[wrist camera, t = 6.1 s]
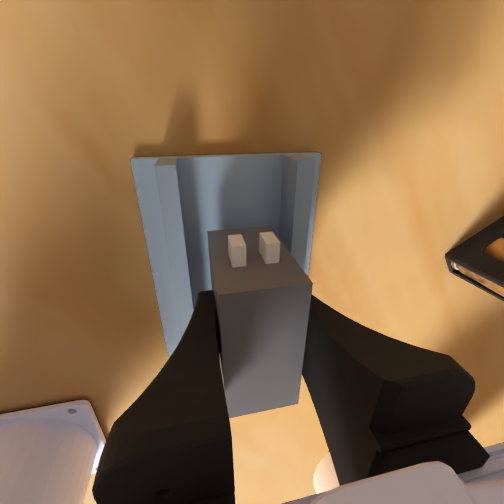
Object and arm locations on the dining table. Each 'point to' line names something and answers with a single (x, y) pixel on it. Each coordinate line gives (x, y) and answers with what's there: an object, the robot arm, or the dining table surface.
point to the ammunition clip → (481, 259)
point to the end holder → (217, 216)
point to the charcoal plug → (258, 318)
